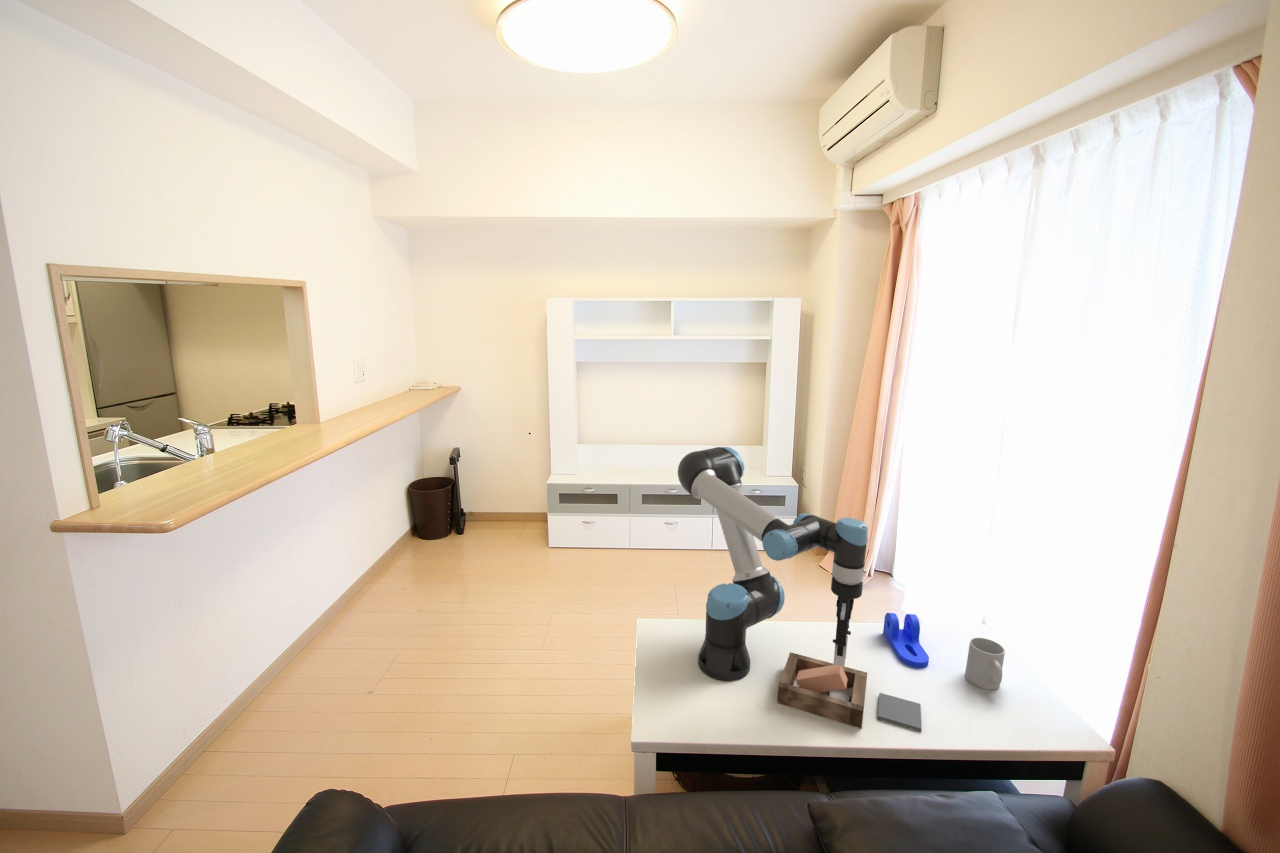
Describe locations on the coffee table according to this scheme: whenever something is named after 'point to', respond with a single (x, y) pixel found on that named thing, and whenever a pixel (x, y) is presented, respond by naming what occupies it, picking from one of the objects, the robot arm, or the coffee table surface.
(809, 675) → the terracotta block
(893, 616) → the bracket
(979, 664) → the mug
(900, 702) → the rubber pad
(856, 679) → the brown wooden frame
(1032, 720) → the coffee table surface
